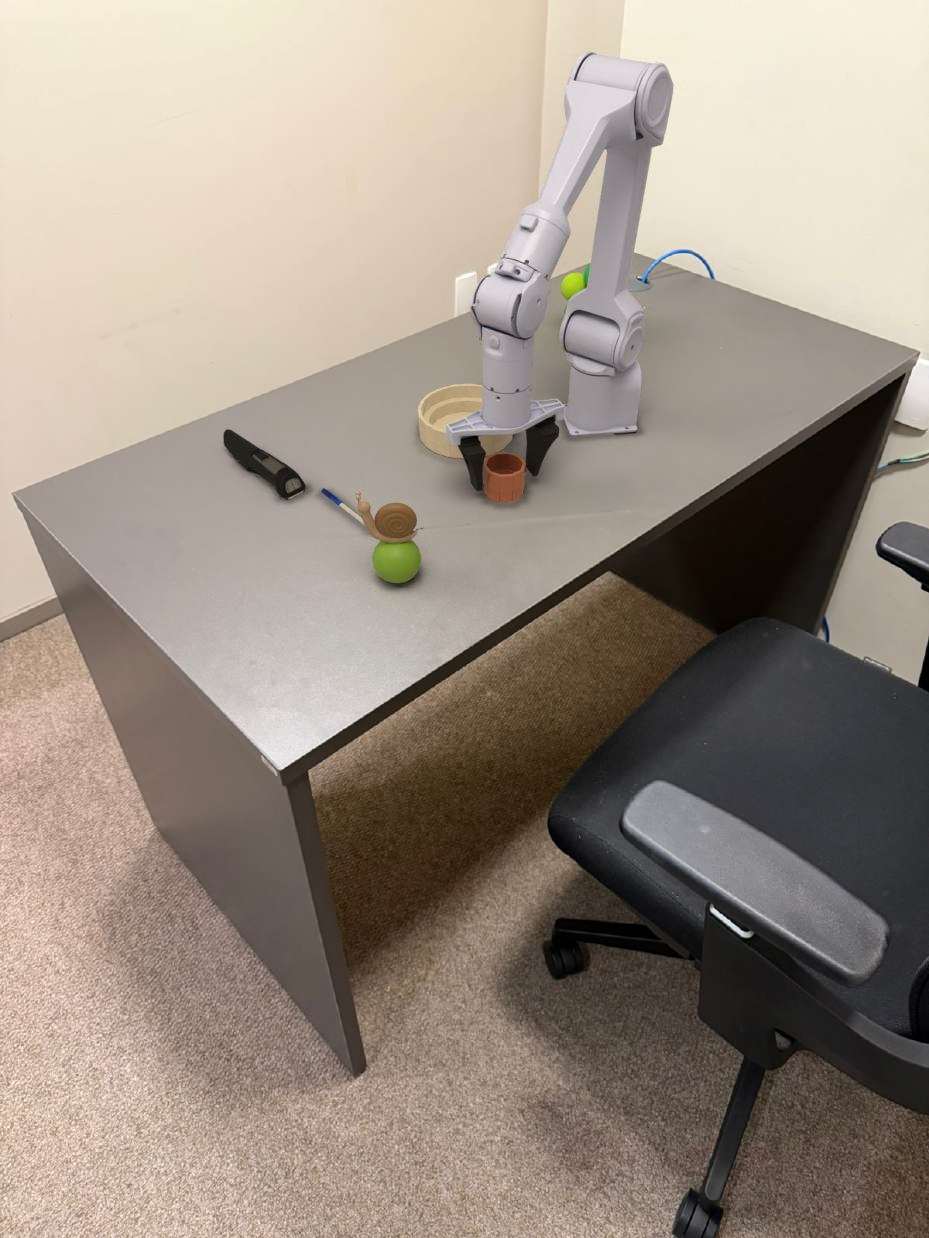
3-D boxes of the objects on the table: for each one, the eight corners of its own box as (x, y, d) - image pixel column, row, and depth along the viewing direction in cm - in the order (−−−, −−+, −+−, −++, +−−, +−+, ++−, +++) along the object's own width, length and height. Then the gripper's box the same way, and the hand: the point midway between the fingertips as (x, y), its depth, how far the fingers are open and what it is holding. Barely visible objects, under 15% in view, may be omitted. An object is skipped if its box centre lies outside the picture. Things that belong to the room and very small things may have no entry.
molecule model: (584, 295, 142) (553, 276, 135) (631, 271, 136) (601, 250, 130) (591, 344, 140) (560, 327, 134) (638, 322, 135) (608, 303, 128)
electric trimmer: (243, 442, 119) (238, 422, 117) (308, 489, 110) (304, 469, 108) (219, 453, 117) (214, 433, 115) (284, 502, 109) (279, 481, 106)
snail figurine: (366, 563, 100) (355, 478, 92) (421, 560, 100) (415, 474, 92) (366, 595, 96) (355, 509, 88) (423, 591, 97) (417, 505, 88)
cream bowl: (505, 406, 124) (505, 380, 121) (521, 457, 115) (522, 430, 112) (415, 414, 123) (414, 387, 120) (424, 465, 114) (422, 438, 111)
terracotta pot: (513, 477, 112) (514, 447, 109) (531, 500, 108) (533, 470, 105) (476, 486, 110) (476, 457, 107) (493, 510, 107) (494, 480, 104)
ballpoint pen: (319, 494, 110) (318, 488, 109) (324, 492, 110) (323, 485, 109) (370, 532, 104) (370, 525, 103) (376, 529, 105) (375, 522, 104)
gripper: (548, 353, 103) (542, 449, 112) (435, 378, 99) (439, 475, 109) (575, 380, 98) (567, 478, 108) (458, 407, 94) (460, 506, 104)
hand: (504, 479), depth 108 cm, fingers open, 7 cm apart
